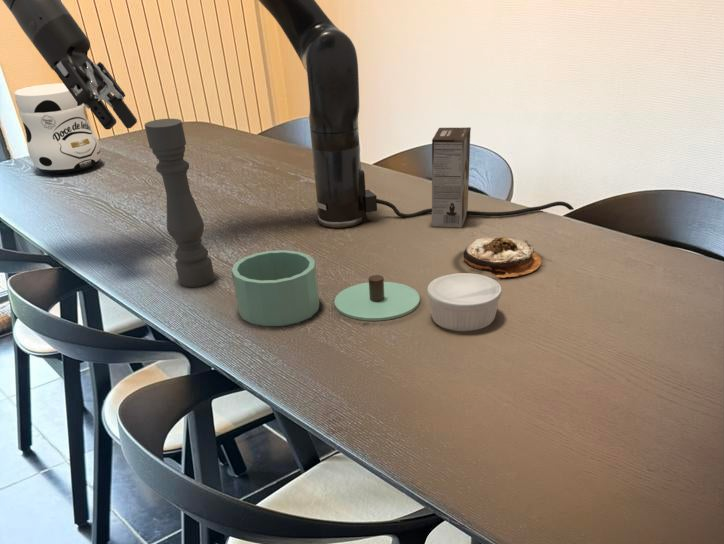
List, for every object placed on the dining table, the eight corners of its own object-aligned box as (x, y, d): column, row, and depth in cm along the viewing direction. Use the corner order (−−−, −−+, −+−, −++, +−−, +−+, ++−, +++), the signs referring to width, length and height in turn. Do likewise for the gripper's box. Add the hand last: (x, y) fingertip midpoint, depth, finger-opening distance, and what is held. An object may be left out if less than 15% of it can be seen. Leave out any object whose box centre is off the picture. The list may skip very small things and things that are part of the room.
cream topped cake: (443, 271, 124) (443, 247, 121) (474, 242, 134) (475, 219, 131) (524, 283, 119) (526, 259, 116) (550, 252, 129) (553, 229, 126)
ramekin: (479, 343, 104) (481, 309, 100) (413, 327, 108) (413, 294, 105) (511, 313, 111) (514, 280, 107) (448, 299, 115) (449, 267, 112)
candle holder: (221, 275, 126) (191, 119, 110) (201, 289, 122) (166, 128, 106) (193, 271, 129) (159, 117, 112) (172, 284, 124) (134, 126, 108)
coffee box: (437, 211, 148) (438, 126, 137) (468, 212, 147) (471, 126, 136) (430, 227, 141) (431, 138, 131) (462, 228, 140) (466, 139, 130)
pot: (306, 289, 121) (301, 245, 116) (329, 319, 112) (325, 272, 107) (232, 303, 117) (224, 258, 112) (250, 335, 108) (242, 288, 103)
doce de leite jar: (92, 177, 178) (68, 95, 166) (24, 179, 178) (-4, 98, 166) (113, 158, 191) (92, 81, 179) (50, 160, 191) (25, 83, 180)
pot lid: (400, 282, 121) (399, 255, 118) (433, 313, 112) (434, 285, 109) (323, 297, 118) (321, 270, 115) (351, 331, 108) (349, 303, 105)
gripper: (44, 6, 104) (121, 111, 110) (87, 17, 116) (154, 111, 122) (11, 40, 106) (88, 142, 112) (57, 47, 118) (124, 138, 124)
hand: (122, 126), depth 117 cm, fingers open, 8 cm apart
